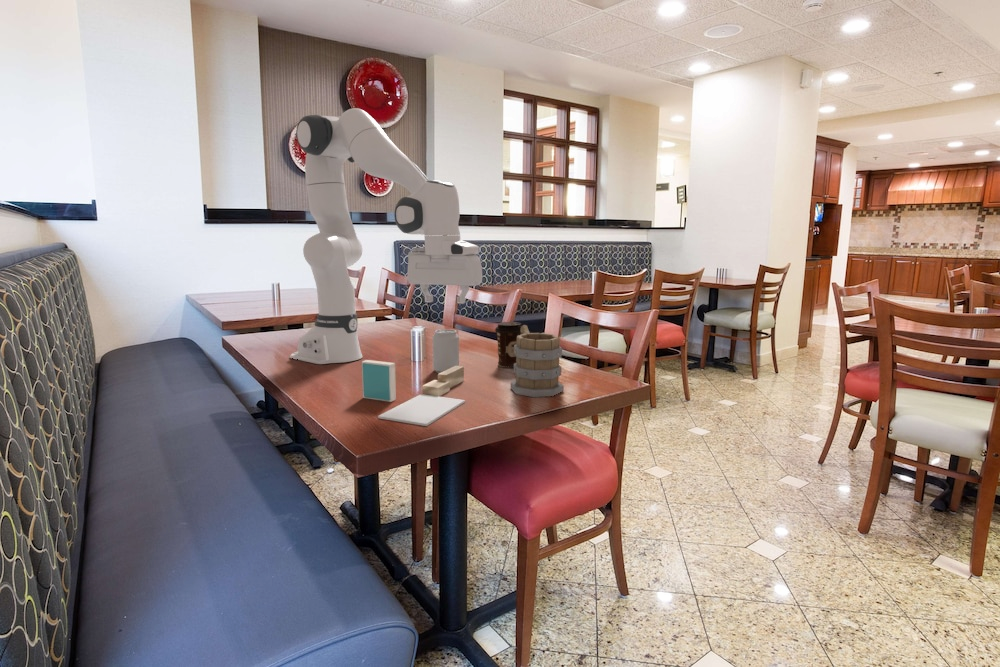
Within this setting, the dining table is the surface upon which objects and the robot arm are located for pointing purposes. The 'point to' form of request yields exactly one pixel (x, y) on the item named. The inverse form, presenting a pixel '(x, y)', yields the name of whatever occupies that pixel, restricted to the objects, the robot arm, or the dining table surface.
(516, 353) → the tankard
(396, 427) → the dining table surface
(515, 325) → the coffee cup
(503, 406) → the dining table surface
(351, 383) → the dining table surface
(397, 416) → the mat
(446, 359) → the can
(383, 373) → the tile
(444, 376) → the tan stepped bar
